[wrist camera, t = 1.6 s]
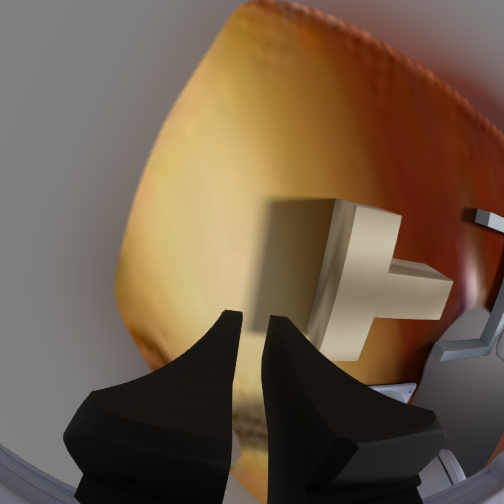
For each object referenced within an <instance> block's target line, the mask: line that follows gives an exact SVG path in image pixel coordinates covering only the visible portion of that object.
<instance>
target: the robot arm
mask: <svg viewBox="0 0 504 504" xmlns="http://www.w3.org/2000/svg"><path fill="white" fill-rule="evenodd" d="M242 321H243V314H242V312H240V311H232V310H225V311H223V312H222V314H221V315H220V317H219V318H218V320H217V321H216V322H215V324H214V325H213V326H212V327H211V328H210V329H209V330H208V332H207V333H206V334H205V335H204V336H203V337H202V338H201V339H200V340H199V341H197V342H196V343H195V344H194V345H193V346H192V347H191V348H190V349H188V350H187V351H186V352H185V353H183V354H182V355H181V356H179V357H178V358H176V359H175V360H173V361H172V362H170V363H168V364H167V365H165V366H163V367H162V368H160V369H158V370H156V371H154V372H152V373H150V374H147V375H145V376H143V377H140V378H138V379H135V380H132V381H130V382H127V383H123V384H120V385H116V386H112V387H109V388H105V389H101V390H96V391H92V392H91V393H90V394H89V396H88V397H87V398H86V399H85V400H84V402H83V403H82V404H81V406H80V407H79V408H78V410H77V412H76V413H75V415H74V416H73V418H72V420H71V422H70V423H69V425H68V427H67V428H66V430H65V432H64V435H63V441H64V443H65V445H66V448H67V450H68V452H69V453H70V455H71V457H72V458H73V460H74V461H75V463H76V464H77V465H78V467H79V468H80V470H81V471H82V472H83V476H82V479H81V481H80V483H79V486H78V488H75V487H73V486H71V485H68V484H66V483H64V482H62V481H60V480H58V479H56V478H55V477H53V476H51V475H49V474H47V473H45V472H44V471H42V470H40V469H38V468H37V467H35V466H33V465H32V464H30V463H28V462H27V461H25V460H24V459H22V458H21V457H19V456H18V455H16V454H15V453H13V452H12V451H10V450H9V449H7V448H6V447H4V446H3V445H2V444H0V504H222V502H223V498H224V493H225V489H226V484H227V480H228V475H229V471H230V466H231V452H232V386H233V379H234V373H235V367H236V360H237V354H238V347H239V340H240V334H241V327H242ZM261 381H262V390H263V398H264V405H265V413H266V420H267V428H268V498H267V504H504V451H503V452H502V453H500V454H499V455H498V456H497V457H496V458H495V459H494V460H493V461H492V462H491V463H490V465H489V466H488V467H486V468H485V469H483V470H481V471H480V472H478V473H476V474H474V475H473V476H471V477H469V478H467V479H466V477H465V475H464V473H463V471H462V469H461V467H460V465H459V463H458V462H457V460H456V458H455V457H454V455H453V454H452V452H451V451H450V450H444V449H442V447H443V446H444V444H445V441H446V439H447V433H446V431H445V430H444V428H443V426H442V425H441V423H440V421H439V420H438V418H437V416H436V415H435V413H434V412H433V411H430V410H427V409H423V408H420V407H416V406H413V405H410V404H407V401H408V400H409V398H410V397H411V395H412V393H413V392H414V390H415V388H416V384H415V383H405V384H394V385H382V386H367V385H365V384H363V383H361V382H360V381H358V380H356V379H355V378H353V377H352V376H350V375H349V374H347V373H346V372H344V371H343V370H342V369H340V368H339V367H337V366H336V365H335V364H334V363H332V362H331V361H330V360H329V359H328V358H326V357H325V356H324V355H323V354H322V353H321V352H320V351H319V350H318V349H317V348H316V347H315V346H313V344H312V343H311V342H310V341H309V340H308V339H307V338H306V337H305V336H304V335H303V334H302V333H301V332H300V331H299V330H298V329H297V327H296V326H295V325H294V324H293V323H292V322H291V321H290V320H289V319H288V318H287V317H283V316H274V315H270V320H269V325H268V330H267V335H266V340H265V345H264V350H263V354H262V365H261ZM441 449H442V450H441ZM437 454H438V455H439V457H440V459H441V463H442V465H443V466H442V465H441V463H440V461H439V460H438V457H437ZM443 467H444V468H443ZM444 469H445V470H444Z"/></svg>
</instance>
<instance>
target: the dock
mask: <svg viewBox="0 0 504 504" xmlns="http://www.w3.org/2000/svg"><path fill="white" fill-rule="evenodd" d="M475 222H477V223H479V224H482V225H485V226H488V227H490V228H493V229H496V230H498V231H501V232H503V233H504V218H502V217H500V216H498V215H495V214H493V213H491V212H487V211H484V210H480V209H477V214H476V219H475ZM503 324H504V279H503V282H502V285H501V288H500V291H499V294H498V296H497V299H496V302H495V304H494V307H493V310H492V312H491V315H490V317H489V319H488V322H487V325H486V327H485V329H484V331H483V333H482V335H481V338H480V339H473V340H460V341H442V342H435V344H434V346H433V348H432V350H431V353H432V354H433V355H434V356H435V357H436V359H437V360H438V361H439V362H442V361H451V360H459V359H466V358H472V357H479V356H485V355H489V354H490V352H491V350H492V348H493V346H494V344H495V342H496V340H497V337H498V335H499V333H500V331H501V329H502V327H503Z"/></svg>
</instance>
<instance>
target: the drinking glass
mask: <svg viewBox="0 0 504 504" xmlns="http://www.w3.org/2000/svg"><path fill="white" fill-rule="evenodd" d="M496 352H497V354H498V356H499V357H500V358H501V359H502V360H503V361H504V330H503V332H502V333H501V335H500V337H499V339H498V342H497V346H496Z"/></svg>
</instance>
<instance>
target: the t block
mask: <svg viewBox="0 0 504 504" xmlns="http://www.w3.org/2000/svg"><path fill="white" fill-rule="evenodd" d="M401 217H402V216H400V215H398V214H395V213H392V212H389V211H386V210H383V209H380V208H377V207H374V206H369V205H365V204H360V203H355V202H350V201H346V200H341V199H335V204H334V210H333V215H332V220H331V225H330V230H329V235H328V240H327V245H326V250H325V254H324V259H323V263H322V268H321V272H320V277H319V281H318V285H317V289H316V293H315V297H314V301H313V305H312V309H311V313H310V317H309V321H308V324H307V328H306V329H307V332H308V335H309V338H310V341H311V343H312V344H313V346H315V347H316V348H317V349H318V350H319V351H320V352H321V353H322V354H323V355H324V356H325V357H326V358H328V359H329V360H333V361H357V360H358V358H359V355H360V353H361V350H362V348H363V345H364V343H365V340H366V337H367V335H368V332H369V329H370V327H371V324H372V321H373V318H374V317H381V318H402V319H434V320H439V319H440V317H441V314H442V312H443V309H444V307H445V304H446V301H447V298H448V296H449V293H450V290H451V287H452V284H453V281H452V280H450V279H449V278H447V277H445V276H444V275H442V274H441V273H439V272H438V271H436V270H434V269H433V268H431V267H430V266H428V265H426V264H424V263H418V262H412V261H406V260H399V259H393V258H392V255H393V252H394V248H395V244H396V239H397V235H398V231H399V226H400V222H401Z"/></svg>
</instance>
